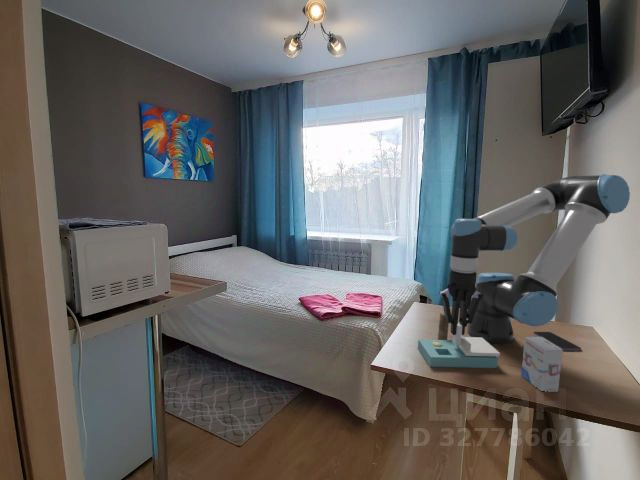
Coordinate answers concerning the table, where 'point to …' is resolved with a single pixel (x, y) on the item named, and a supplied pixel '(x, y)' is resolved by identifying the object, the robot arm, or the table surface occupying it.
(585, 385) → the table surface
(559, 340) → the smartphone
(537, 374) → the ink box
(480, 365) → the board
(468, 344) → the cover
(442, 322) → the peg
